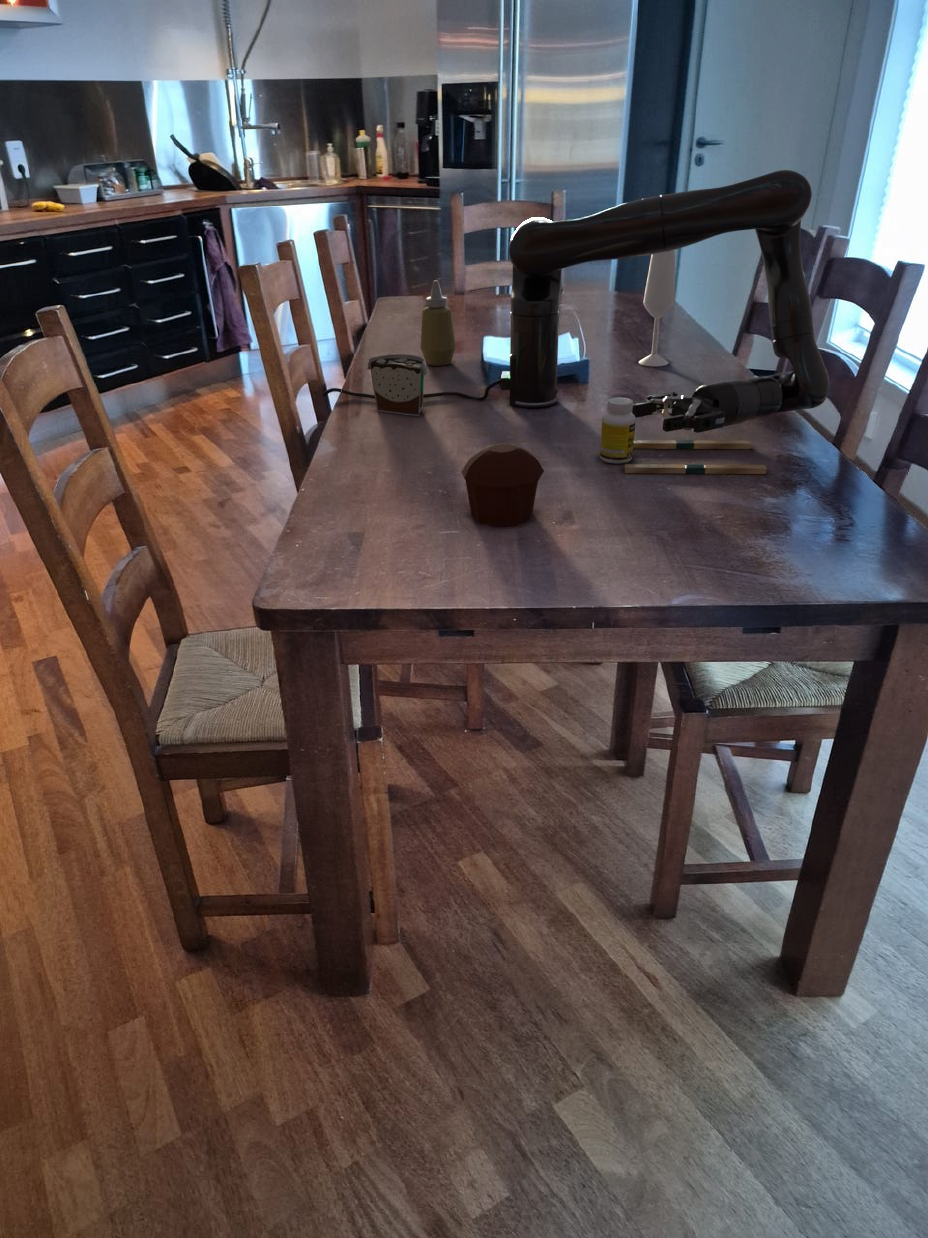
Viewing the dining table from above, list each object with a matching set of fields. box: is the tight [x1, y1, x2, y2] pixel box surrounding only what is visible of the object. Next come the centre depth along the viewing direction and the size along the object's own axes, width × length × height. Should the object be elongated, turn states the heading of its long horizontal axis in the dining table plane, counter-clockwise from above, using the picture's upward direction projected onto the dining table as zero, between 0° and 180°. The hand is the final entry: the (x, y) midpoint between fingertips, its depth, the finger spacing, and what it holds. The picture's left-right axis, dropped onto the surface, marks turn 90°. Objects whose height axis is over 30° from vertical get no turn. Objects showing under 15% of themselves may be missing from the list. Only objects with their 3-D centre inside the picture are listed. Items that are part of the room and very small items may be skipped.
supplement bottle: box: [599, 397, 636, 465], centre depth 141 cm, size 5×5×10 cm
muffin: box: [460, 443, 545, 528], centre depth 123 cm, size 12×11×10 cm
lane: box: [624, 439, 768, 475], centre depth 143 cm, size 22×13×1 cm, turn 86°
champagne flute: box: [638, 250, 676, 367], centre depth 190 cm, size 7×7×24 cm
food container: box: [366, 353, 429, 417], centre depth 167 cm, size 12×6×10 cm, turn 65°
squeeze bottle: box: [420, 279, 457, 367], centre depth 195 cm, size 8×8×18 cm
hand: (648, 418), depth 143 cm, fingers open, 8 cm apart
